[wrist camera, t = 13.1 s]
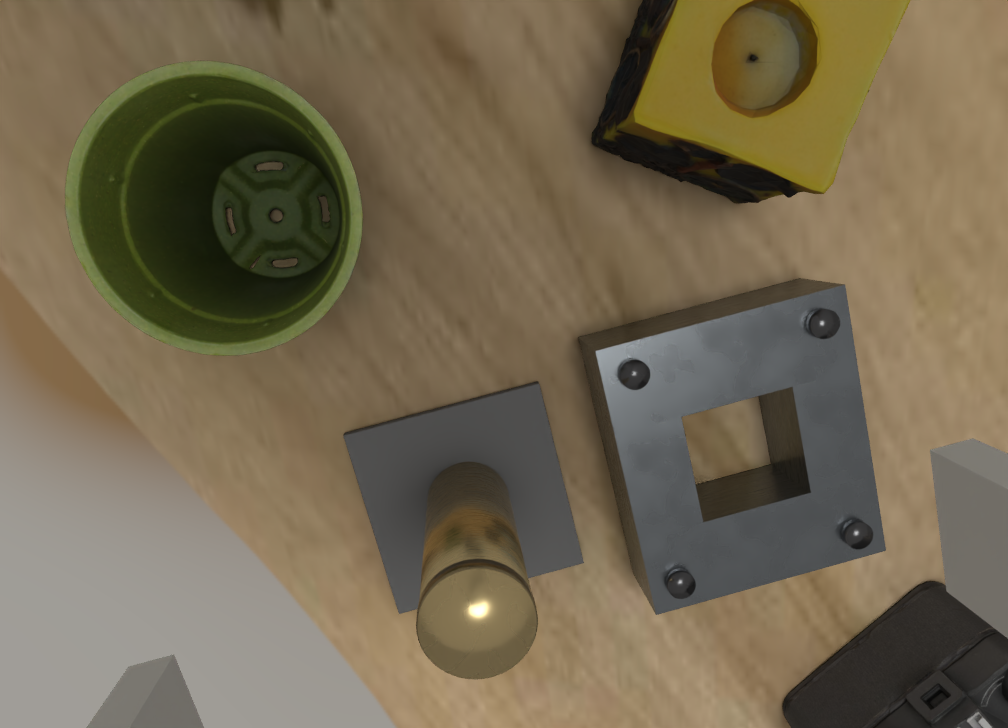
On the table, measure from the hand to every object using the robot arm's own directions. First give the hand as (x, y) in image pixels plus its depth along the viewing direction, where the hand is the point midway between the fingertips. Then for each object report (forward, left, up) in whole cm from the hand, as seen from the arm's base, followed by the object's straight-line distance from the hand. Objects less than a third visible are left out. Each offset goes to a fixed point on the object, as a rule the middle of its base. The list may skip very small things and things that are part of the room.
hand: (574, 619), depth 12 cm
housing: (+9, +13, -31) cm, 35 cm away
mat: (+9, -3, -31) cm, 32 cm away
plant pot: (-10, -9, -31) cm, 34 cm away
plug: (+9, -3, -30) cm, 32 cm away
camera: (+30, +21, -31) cm, 49 cm away
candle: (-11, +16, -31) cm, 37 cm away
